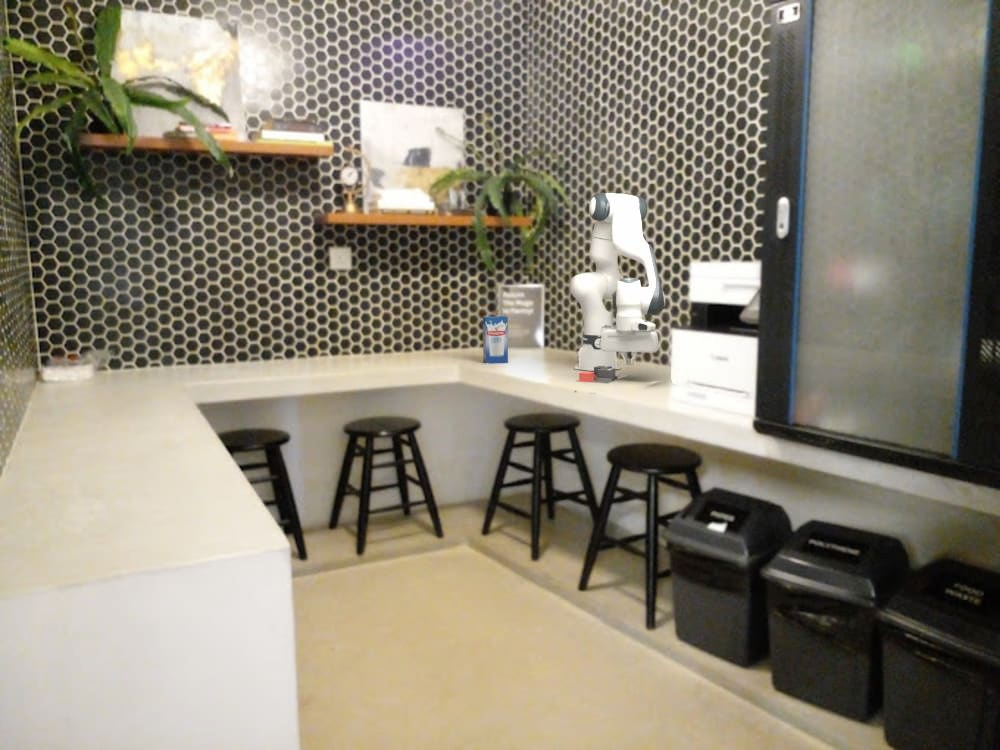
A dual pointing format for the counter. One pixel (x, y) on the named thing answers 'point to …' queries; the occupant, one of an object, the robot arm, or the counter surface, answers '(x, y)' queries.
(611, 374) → the breaker
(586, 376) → the red block
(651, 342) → the robot arm
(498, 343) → the milk carton
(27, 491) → the counter surface
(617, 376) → the panel
